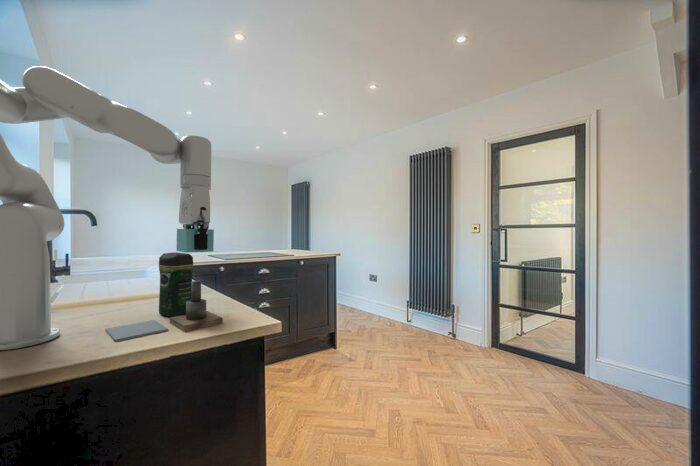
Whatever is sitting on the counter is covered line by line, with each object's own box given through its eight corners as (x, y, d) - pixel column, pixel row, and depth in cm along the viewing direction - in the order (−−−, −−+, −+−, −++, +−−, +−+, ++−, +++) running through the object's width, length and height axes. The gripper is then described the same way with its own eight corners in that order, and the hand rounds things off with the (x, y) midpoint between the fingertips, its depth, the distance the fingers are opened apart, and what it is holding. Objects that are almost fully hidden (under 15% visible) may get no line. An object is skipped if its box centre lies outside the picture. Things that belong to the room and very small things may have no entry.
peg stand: (183, 331, 80) (183, 286, 80) (170, 323, 87) (170, 281, 87) (222, 323, 88) (222, 281, 87) (207, 315, 94) (207, 277, 94)
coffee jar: (198, 312, 98) (198, 252, 97) (172, 319, 91) (172, 254, 90) (179, 308, 102) (179, 250, 102) (154, 314, 96) (153, 252, 95)
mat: (115, 341, 73) (115, 339, 73) (105, 330, 80) (105, 328, 80) (168, 330, 81) (168, 328, 81) (154, 321, 88) (154, 319, 88)
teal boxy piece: (186, 252, 82) (186, 229, 82) (176, 250, 87) (176, 228, 87) (213, 251, 87) (213, 229, 87) (202, 249, 92) (203, 229, 92)
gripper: (169, 184, 90) (169, 247, 90) (194, 178, 78) (193, 251, 78) (197, 187, 95) (196, 246, 96) (223, 182, 83) (222, 250, 84)
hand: (195, 248), depth 87 cm, fingers closed on teal boxy piece, 7 cm apart
